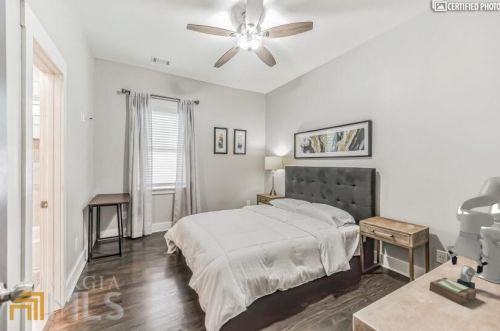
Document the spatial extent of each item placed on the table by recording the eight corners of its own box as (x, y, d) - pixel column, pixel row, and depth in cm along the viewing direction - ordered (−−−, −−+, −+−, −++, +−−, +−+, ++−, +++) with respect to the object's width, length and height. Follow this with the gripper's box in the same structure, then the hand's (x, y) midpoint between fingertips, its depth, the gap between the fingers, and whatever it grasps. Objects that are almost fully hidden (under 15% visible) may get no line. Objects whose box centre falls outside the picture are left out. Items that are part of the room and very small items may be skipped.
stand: (444, 285, 114) (445, 276, 114) (475, 298, 104) (476, 289, 104) (429, 290, 109) (430, 281, 109) (460, 305, 98) (461, 295, 98)
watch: (476, 288, 113) (478, 267, 113) (468, 291, 109) (470, 269, 109) (462, 283, 118) (463, 262, 118) (454, 285, 115) (456, 264, 114)
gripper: (496, 241, 107) (493, 276, 107) (452, 230, 123) (449, 260, 123) (489, 242, 104) (486, 278, 104) (444, 230, 120) (442, 262, 120)
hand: (466, 268), depth 113 cm, fingers open, 9 cm apart
